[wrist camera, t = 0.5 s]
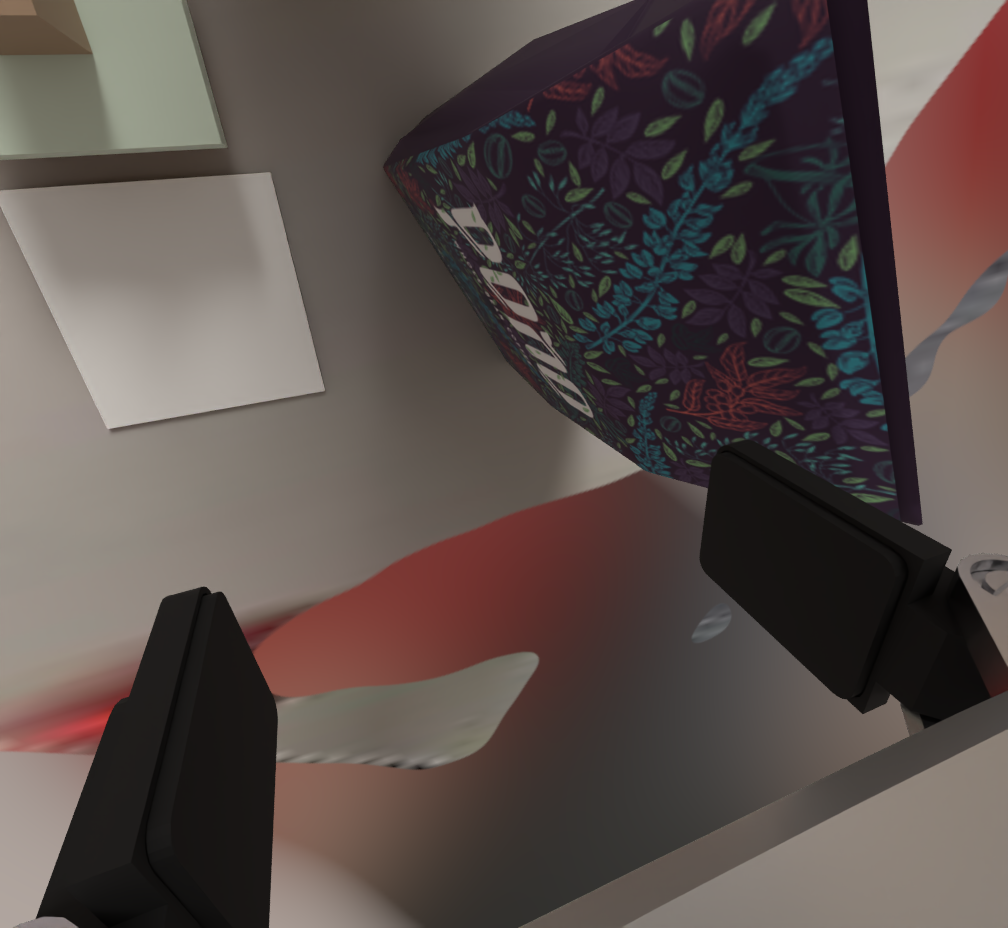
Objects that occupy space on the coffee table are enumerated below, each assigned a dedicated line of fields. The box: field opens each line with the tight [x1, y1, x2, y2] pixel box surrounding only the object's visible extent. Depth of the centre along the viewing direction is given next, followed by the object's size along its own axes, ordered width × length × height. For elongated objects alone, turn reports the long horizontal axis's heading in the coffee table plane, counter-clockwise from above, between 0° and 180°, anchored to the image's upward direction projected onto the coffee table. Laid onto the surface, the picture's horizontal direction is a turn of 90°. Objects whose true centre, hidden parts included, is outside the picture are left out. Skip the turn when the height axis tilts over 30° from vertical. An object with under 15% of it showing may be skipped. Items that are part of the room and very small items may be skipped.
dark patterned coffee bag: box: [383, 0, 922, 526], centre depth 23 cm, size 8×16×28 cm, turn 32°
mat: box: [0, 172, 325, 429], centre depth 31 cm, size 13×13×1 cm
